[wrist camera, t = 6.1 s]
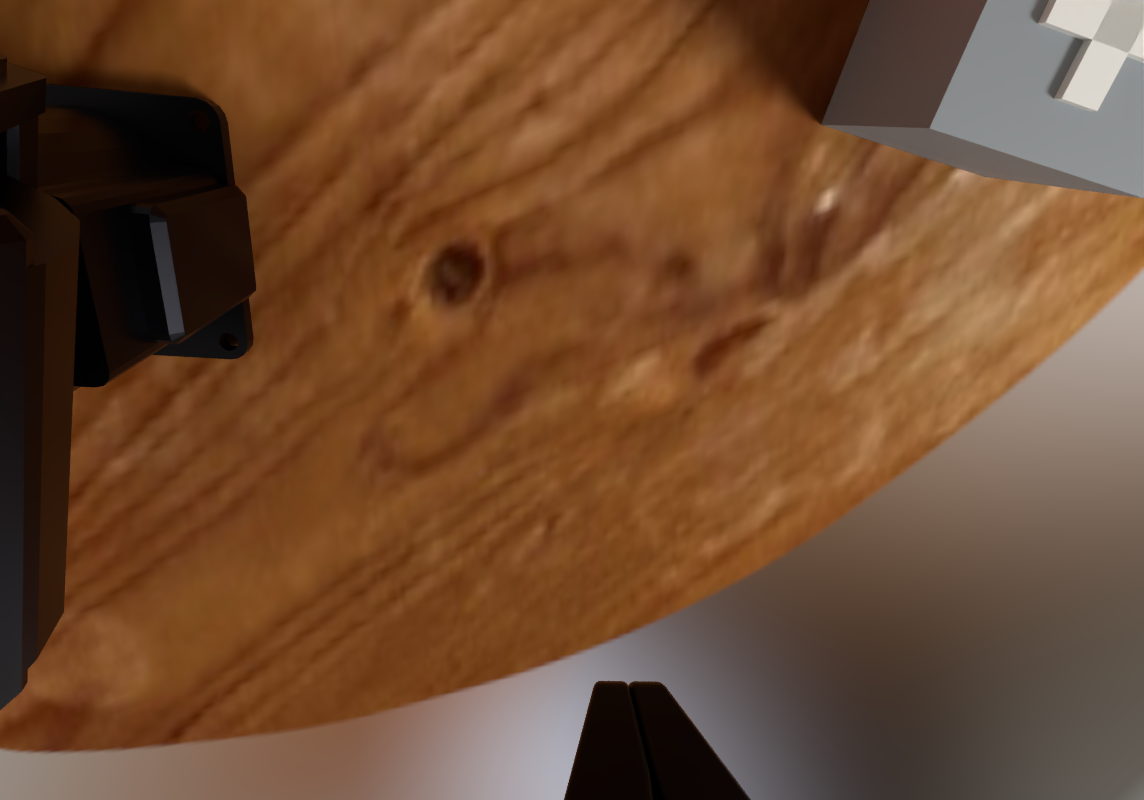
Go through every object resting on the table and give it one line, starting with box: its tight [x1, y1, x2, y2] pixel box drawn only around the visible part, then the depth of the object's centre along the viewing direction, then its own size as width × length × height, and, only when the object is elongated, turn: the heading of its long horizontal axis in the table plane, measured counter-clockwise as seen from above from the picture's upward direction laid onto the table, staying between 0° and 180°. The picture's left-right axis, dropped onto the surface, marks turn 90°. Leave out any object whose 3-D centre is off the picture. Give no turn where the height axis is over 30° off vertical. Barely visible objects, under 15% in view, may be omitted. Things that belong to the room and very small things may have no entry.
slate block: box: [821, 0, 1144, 198], centre depth 14 cm, size 5×5×5 cm
